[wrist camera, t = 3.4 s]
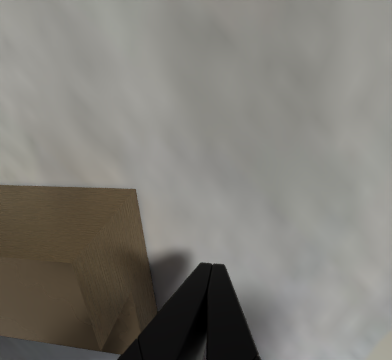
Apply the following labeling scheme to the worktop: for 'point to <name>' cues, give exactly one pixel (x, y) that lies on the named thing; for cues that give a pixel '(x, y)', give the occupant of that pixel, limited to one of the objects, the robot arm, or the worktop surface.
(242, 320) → the robot arm
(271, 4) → the worktop surface
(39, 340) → the wooden block
